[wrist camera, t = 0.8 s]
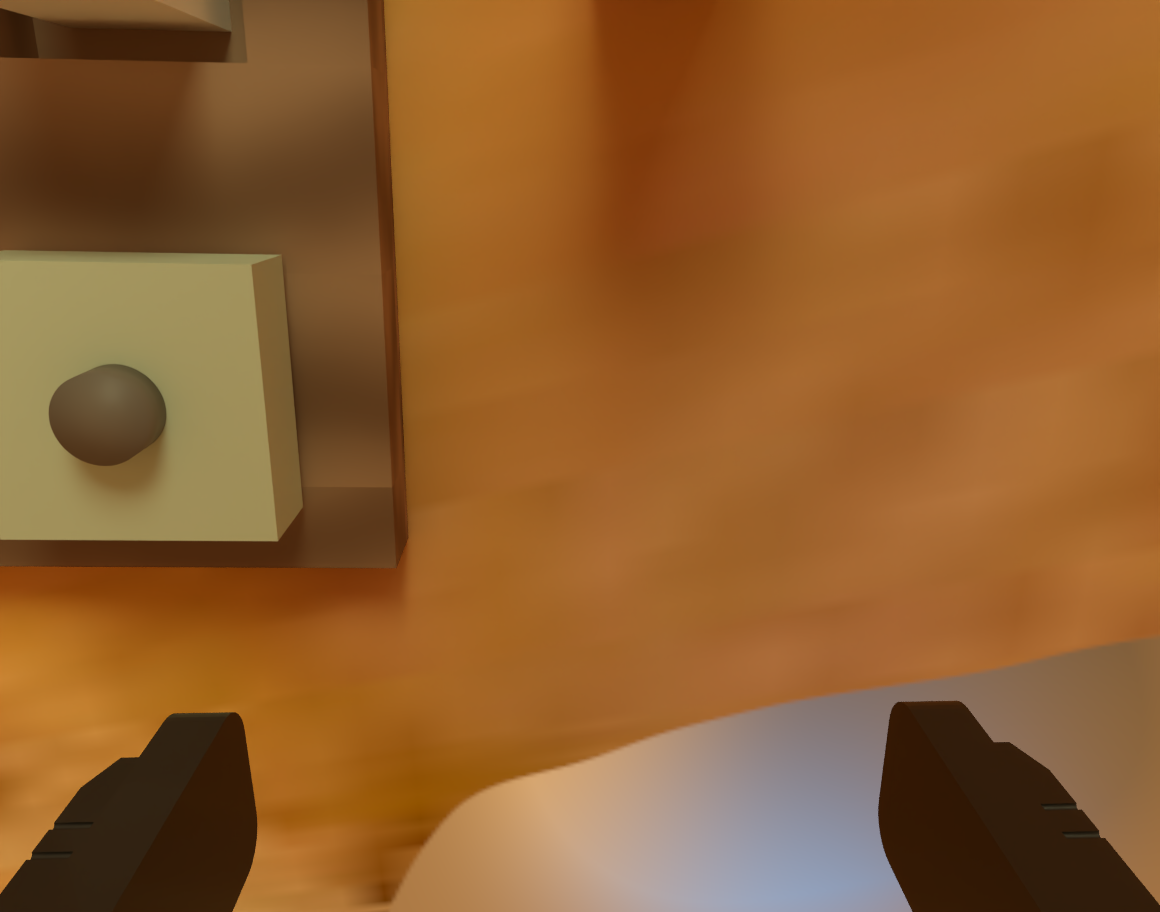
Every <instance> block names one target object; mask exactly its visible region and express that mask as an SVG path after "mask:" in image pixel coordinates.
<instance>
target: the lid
mask: <svg viewBox="0 0 1160 912" xmlns="http://www.w3.org/2000/svg"><path fill="white" fill-rule="evenodd" d="M302 508H303V501H302V489H301V477H300V466H299V454H298V442H297V430H296V419H295V407H294V395H293V384H292V372H291V360H290V349H289V337H288V325H287V313H286V302H285V290H284V278H283V267H282V255H265V254H205V253H144V252H84V251H24V250H3V251H0V540H150V541H278V540H279V539H280V538H281V536H282V535H283V534H284V532H285V531H286V530H287V528H288V527H289V525H290V524H291V523H292V521H293V520H294V519H295V517H296V516H297V515H298V513H299V512H300V510H301V509H302Z"/></svg>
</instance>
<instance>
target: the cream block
mask: <svg viewBox="0 0 1160 912" xmlns="http://www.w3.org/2000/svg"><path fill="white" fill-rule="evenodd" d="M0 8H2V9H6V10H9V11H13V12H16V13H20V14H23V15H27V16H30V17H34V18H37V19H41V20H44V21H48V22H52V23H55V24H59V25H62V26H66V27H69V28H99V29H139V30H179V31H219V32H232V29H231V19H230V8H229V0H0Z"/></svg>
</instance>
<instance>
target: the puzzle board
mask: <svg viewBox="0 0 1160 912" xmlns="http://www.w3.org/2000/svg"><path fill="white" fill-rule="evenodd" d="M229 8H230V19H231V29H232V32H219V31H179V30H139V29H99V28H69V27H66V26H62V25H59V24H55V23H52V22H48V21H44V20H41V19H37V18H34V17H30V16H27V15H23V14H20V13H16V12H13V11H9V10H6V9H2V8H0V251H3V250H24V251H84V252H144V253H205V254H265V255H282V267H283V278H284V290H285V302H286V313H287V325H288V337H289V349H290V360H291V372H292V384H293V395H294V407H295V419H296V430H297V442H298V454H299V466H300V477H301V489H302V501H303V508H302V509H301V510H300V512H299V513H298V515H297V516H296V517H295V519H294V520H293V521H292V523H291V524H290V525H289V527H288V528H287V530H286V531H285V532H284V534H283V535H282V536H281V538H280V539H279V540H278V541H150V540H0V566H61V567H265V568H397V565H398V562H399V560H400V557H401V555H402V552H403V550H404V547H405V545H406V542H407V539H408V526H407V504H406V482H405V460H404V438H403V417H402V395H401V373H400V351H399V329H398V307H397V286H396V264H395V242H394V220H393V198H392V176H391V155H390V133H389V111H388V89H387V67H386V45H385V24H384V2H383V0H229Z"/></svg>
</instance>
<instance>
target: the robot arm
mask: <svg viewBox="0 0 1160 912" xmlns="http://www.w3.org/2000/svg"><path fill="white" fill-rule="evenodd" d="M878 809H879V811H878V816H879V828H880V835H881V839H882V844H883V848H884V851H885V854H886V857H887V859H888V861H889V864H890V865H891V868H892V870H893V872H894V874H895V876H896V878H897V880H898V882H899V884H900V887H901V888H902V891H903V893H904V895H905V897H906V899H907V901H908V903H909V905H910V907H911V909H912V912H1160V905H1159V904H1158V902H1157V901H1156V900H1155V899H1154V897H1153V896H1152V895H1151V894H1150V893H1149V891H1148V890H1147V889H1146V888H1145V886H1144V885H1143V884H1142V883H1141V882H1140V880H1139V879H1138V878H1137V877H1136V876H1135V874H1134V873H1133V872H1132V871H1131V869H1130V868H1129V867H1128V866H1127V865H1126V863H1125V862H1124V861H1123V860H1122V858H1121V857H1120V856H1119V855H1118V853H1117V852H1116V851H1115V850H1114V849H1113V847H1112V846H1111V845H1110V844H1109V842H1108V841H1107V840H1106V839H1105V838H1100V835H1099V830H1098V829H1097V828H1096V827H1095V825H1094V824H1093V823H1092V822H1091V821H1090V819H1089V818H1088V817H1087V816H1086V814H1085V813H1084V812H1083V811H1082V810H1078V809H1077V807H1076V802H1075V801H1074V800H1073V798H1072V797H1071V796H1070V795H1069V794H1068V792H1067V791H1066V790H1065V789H1064V787H1063V786H1062V785H1061V784H1060V782H1059V781H1058V780H1057V779H1056V778H1055V776H1054V775H1053V774H1052V773H1051V772H1050V770H1049V769H1047V768H1046V767H1044V766H1043V765H1041V764H1040V763H1038V762H1037V761H1036V760H1034V759H1033V758H1031V757H1030V756H1028V755H1027V754H1026V753H1024V752H1023V751H1021V750H1020V749H1018V748H1017V747H1016V746H1014V745H1013V744H1011V743H1010V742H993V741H992V740H991V738H990V737H989V736H988V734H987V733H986V732H985V730H984V729H983V728H982V727H981V725H980V724H979V723H978V721H977V720H976V719H975V717H974V716H973V715H972V713H971V712H970V711H969V709H968V708H967V707H966V706H965V705H964V704H963V703H962V702H959V701H924V702H897V703H896V704H895V705H894V706H893V708H892V711H891V714H890V719H889V726H888V734H887V743H886V750H885V758H884V765H883V773H882V781H881V789H880V797H879V806H878ZM256 839H257V814H256V806H255V799H254V792H253V785H252V779H251V772H250V765H249V758H248V751H247V744H246V737H245V730H244V725H243V722H242V719H241V717H240V716H239V714H237V713H235V712H231V713H177V714H172V715H170V716H169V717H167V719H166V720H165V721H164V722H163V724H162V725H161V727H160V728H159V729H158V731H157V732H156V734H155V735H154V737H153V738H152V740H151V741H150V742H149V744H148V745H147V747H146V748H145V750H144V751H143V752H142V754H141V755H140V757H135V758H120V759H119V760H117V761H116V762H115V763H113V764H112V765H111V766H109V767H108V768H107V769H105V770H104V771H103V772H101V773H100V774H99V775H97V776H96V777H95V778H93V779H92V780H91V781H89V782H88V783H87V784H85V785H84V786H83V787H81V788H80V789H79V791H78V792H77V793H76V795H75V796H74V797H73V799H72V800H71V801H70V803H69V804H68V805H67V807H66V808H65V809H64V811H63V812H62V813H61V815H60V816H59V817H58V819H57V820H56V821H55V823H54V829H53V830H48V832H47V833H46V834H45V836H44V837H43V838H42V840H41V841H40V842H39V844H38V845H37V846H36V848H35V849H34V850H33V852H32V857H31V860H26V861H25V862H24V864H23V865H22V866H21V867H20V869H19V870H18V871H17V873H16V874H15V875H14V877H13V878H12V879H11V881H10V882H9V883H8V885H7V886H6V887H5V889H4V890H3V891H2V893H1V894H0V912H232V911H233V909H234V907H235V904H236V902H237V900H238V897H239V895H240V893H241V890H242V888H243V886H244V883H245V881H246V879H247V876H248V874H249V871H250V869H251V865H252V862H253V858H254V853H255V847H256Z"/></svg>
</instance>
